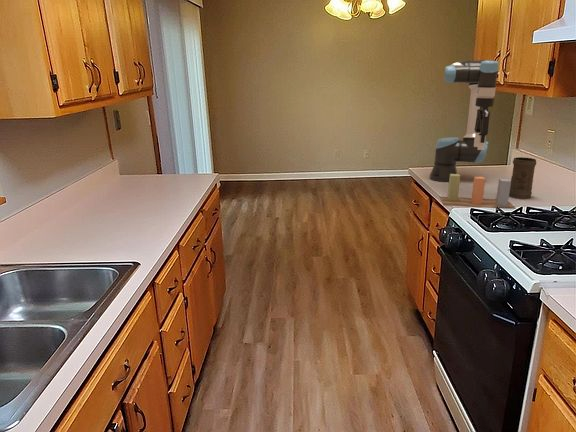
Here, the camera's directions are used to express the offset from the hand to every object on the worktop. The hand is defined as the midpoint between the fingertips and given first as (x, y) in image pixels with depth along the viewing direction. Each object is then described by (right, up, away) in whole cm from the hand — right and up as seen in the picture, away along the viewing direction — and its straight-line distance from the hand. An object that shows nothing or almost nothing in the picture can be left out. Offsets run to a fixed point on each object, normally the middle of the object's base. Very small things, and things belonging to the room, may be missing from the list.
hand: (478, 148), depth 212 cm
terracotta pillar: (-2, -26, -1) cm, 26 cm away
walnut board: (-1, -26, 0) cm, 26 cm away
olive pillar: (-11, -24, +4) cm, 26 cm away
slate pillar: (+8, -27, -5) cm, 29 cm away
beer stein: (+24, -23, +13) cm, 35 cm away
